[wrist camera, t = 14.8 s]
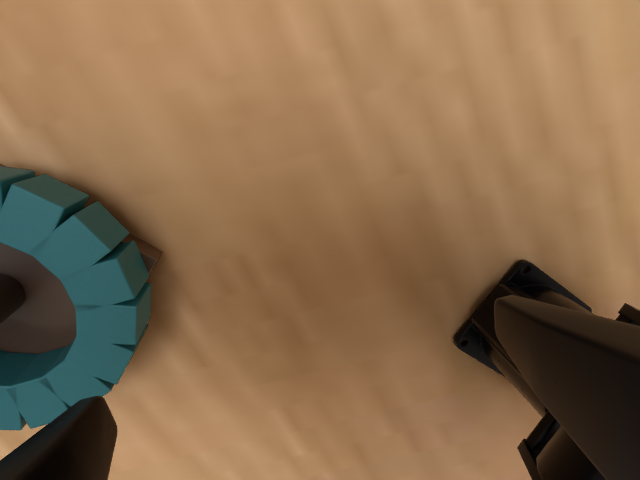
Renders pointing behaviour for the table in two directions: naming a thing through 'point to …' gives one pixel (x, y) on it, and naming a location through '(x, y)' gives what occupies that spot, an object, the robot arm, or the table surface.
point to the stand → (41, 301)
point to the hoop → (71, 296)
